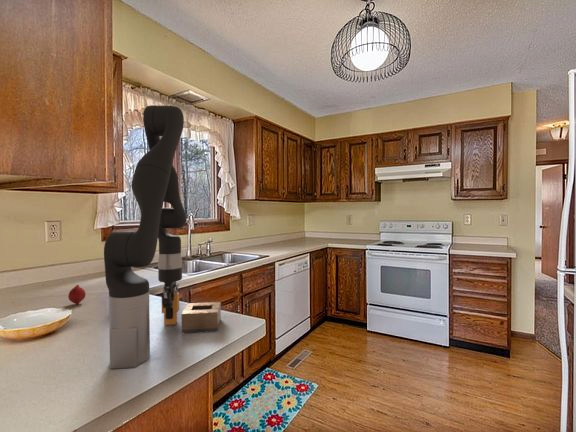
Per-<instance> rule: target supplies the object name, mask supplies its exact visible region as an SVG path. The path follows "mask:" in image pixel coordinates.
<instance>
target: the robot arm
mask: <svg viewBox="0 0 576 432" xmlns="http://www.w3.org/2000/svg"><path fill="white" fill-rule="evenodd" d="M142 120H143V122H142V123H143V128H144V132H145V137H146V140H147V141H146V142H147V146H148V151H147V152H146V153H145V154H144V155H143V156H141V158H140V159H139V160H138V161H137V164H136V166H135V170H134V171H133V172H134V173H133V176H132V180H131V191H132V194H133V196H134V198H135V201H136V202H137V205H138V208H139V210H140V219H139V225H138V229H136V230H115V231H113V232H110V233H109V234H108V236H106V237H107V238H106V239H105V241H104V247H103V258H104V259H103V263H104V273H105V277H104V278H105V283H106V287H107V289H108V321H109V322H108V323H109V327H108V328H109V329H108V330H109V331H108V332H109V333H108V335H109V336H108V337H109V339H108V340H109V368H110V369H111V370H112V369H113V370H114V369H126V368H127V369H128V368H138V366H139V365H140V364H143V363H145V362H146V361H148V360H149V359H150V357H151V343H150V342H151V338H150V337H151V334H150V333H151V331H150V329H151V328H150V324H151V323H150V318H151V317H150V282H149V280H148V279H147V278H144V277H141V276H140V275H138V274H136V273H135V271H133V269H132V268H145V267H148V266H149V265H150V264H151V263H152V262H153V261H154V260H153V259H154V258H155V255H156V251H157V245H158V258H157V259H158V261H157V262H158V263H157V264H158V273H157V274H158V279H157V280H158V282H160V283H163V284H164V286H163V287H162V292H161V293H160V295H161V304H162V303H163V308H166V319H172V318H173V301H174V300H175V293H177V292H179V283H177V282H180V281H181V280H182V279H183V259H182V258H183V257H182V241H181V239H182V238H181V237H180V236H179V235H176V234H171V233H169V232H168V231H167V230H168V229H182V228H183V227H185V225H186V223H187V221H188V220H187V213H186V211H185V208H184V206H183V203H182V200H181V196H180V185H179V176H178V171H176V168H175V167H174V165H173V163H174V159H175V154H176V151H177V148H178V145H179V142H180V139H181V137H182V134H183V130H184V126H185V125H184V124H185V119H184V112H183V110H182V109H181V108H180V107H179V106H175V105H153V104H151V105H147V106H146V107H145V108H144V110H143V114H142ZM164 203H167V204H170V206H171V207H163V206H164ZM172 296H173V297H172ZM171 297H172V298H171ZM167 302H168V303H169V304H167Z"/></svg>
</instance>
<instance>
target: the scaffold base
mask: <svg viewBox="0 0 576 432" xmlns="http://www.w3.org/2000/svg"><path fill="white" fill-rule="evenodd" d="M221 311H222V309H221V301H215V302H213V301H212V302H209V301H208V302H191V303H189V302H188V303H187V305H186V306H185V308H184V309H183V310H182V313H181V334H182V333H184V334H199V332H203V333H217V332H216V331H219V327H220V324H221V319H222V318H221V314H222V313H221ZM197 332H198V333H197Z"/></svg>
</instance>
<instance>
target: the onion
mask: <svg viewBox="0 0 576 432" xmlns="http://www.w3.org/2000/svg"><path fill="white" fill-rule="evenodd" d="M86 294H87V293H86V290H85V289H84V288H83V287H81V286H80V284H76V285H75V286H74V287H73V288H71V290H70V291H69V293H68V296H67V297H68V300H69V301H70V302H71V303H74V304H76V305H79V304H80V303H81V302H82V301H84V299H85V298H86Z"/></svg>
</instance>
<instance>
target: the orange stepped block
mask: <svg viewBox="0 0 576 432" xmlns="http://www.w3.org/2000/svg"><path fill="white" fill-rule="evenodd" d="M172 297H173V296H172ZM172 297H171V298H172ZM167 304H169V303H168V302H167ZM179 311H180V292H179V291H178V292H177V293H175V300H174V301H173V318H172V319H166V308H163V303H162V302H161V314H163V325H164V326H169V325H176V324H177V323H178V312H179Z"/></svg>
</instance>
